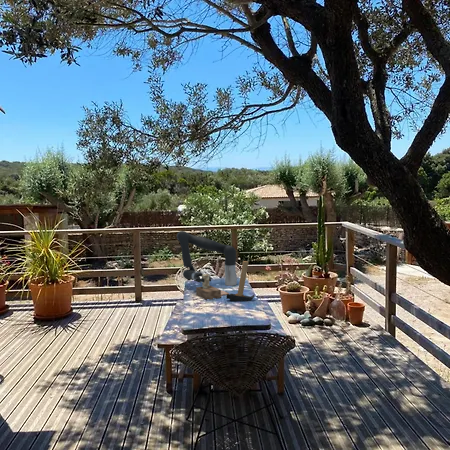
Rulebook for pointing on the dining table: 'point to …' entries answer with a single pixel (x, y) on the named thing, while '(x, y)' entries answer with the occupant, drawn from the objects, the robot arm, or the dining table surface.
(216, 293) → the walnut toolbox
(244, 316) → the dining table surface
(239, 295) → the hammer
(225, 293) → the terracotta tile
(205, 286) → the maple key
